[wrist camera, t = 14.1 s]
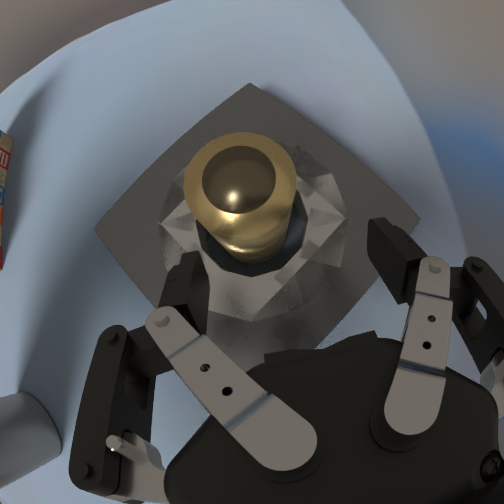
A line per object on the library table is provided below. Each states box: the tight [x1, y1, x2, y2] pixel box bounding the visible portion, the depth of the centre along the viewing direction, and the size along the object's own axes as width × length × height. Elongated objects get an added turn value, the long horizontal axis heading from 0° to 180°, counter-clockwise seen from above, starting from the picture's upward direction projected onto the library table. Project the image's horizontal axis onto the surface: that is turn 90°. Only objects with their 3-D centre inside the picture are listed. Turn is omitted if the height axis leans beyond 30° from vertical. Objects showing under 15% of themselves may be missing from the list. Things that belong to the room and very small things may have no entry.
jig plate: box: [94, 83, 420, 373], centre depth 20 cm, size 18×18×3 cm
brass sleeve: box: [184, 132, 297, 264], centre depth 17 cm, size 5×5×10 cm
